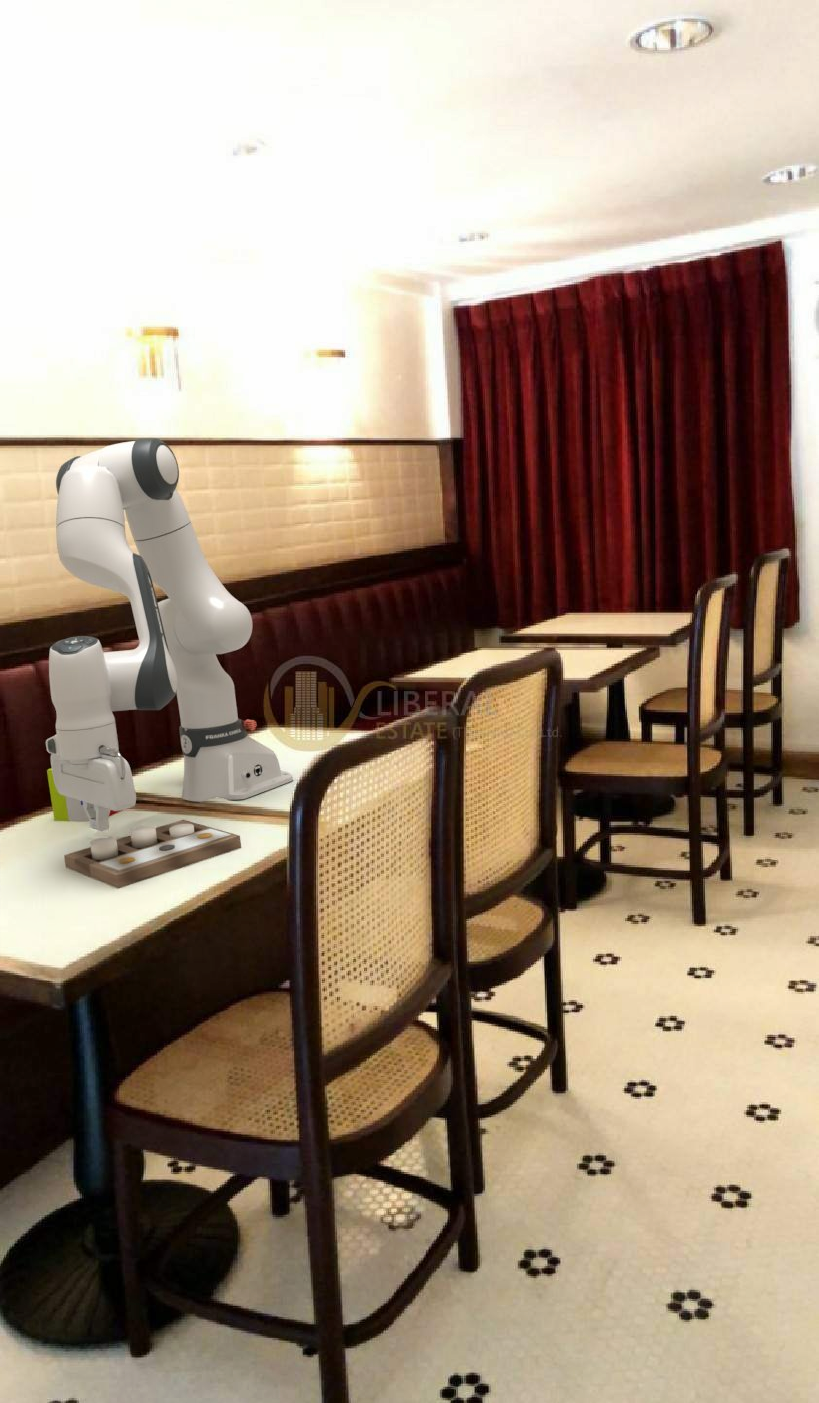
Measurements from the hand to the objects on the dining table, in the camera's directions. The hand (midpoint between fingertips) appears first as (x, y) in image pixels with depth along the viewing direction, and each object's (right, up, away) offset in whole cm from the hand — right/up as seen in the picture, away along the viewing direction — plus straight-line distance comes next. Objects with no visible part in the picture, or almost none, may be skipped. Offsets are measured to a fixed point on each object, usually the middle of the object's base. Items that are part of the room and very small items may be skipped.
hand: (100, 829), depth 170 cm
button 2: (+11, -3, +10) cm, 15 cm away
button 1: (+1, -4, +1) cm, 4 cm away
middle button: (+6, -3, +6) cm, 8 cm away
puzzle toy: (-12, -2, +38) cm, 40 cm away
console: (+8, -6, +4) cm, 11 cm away
